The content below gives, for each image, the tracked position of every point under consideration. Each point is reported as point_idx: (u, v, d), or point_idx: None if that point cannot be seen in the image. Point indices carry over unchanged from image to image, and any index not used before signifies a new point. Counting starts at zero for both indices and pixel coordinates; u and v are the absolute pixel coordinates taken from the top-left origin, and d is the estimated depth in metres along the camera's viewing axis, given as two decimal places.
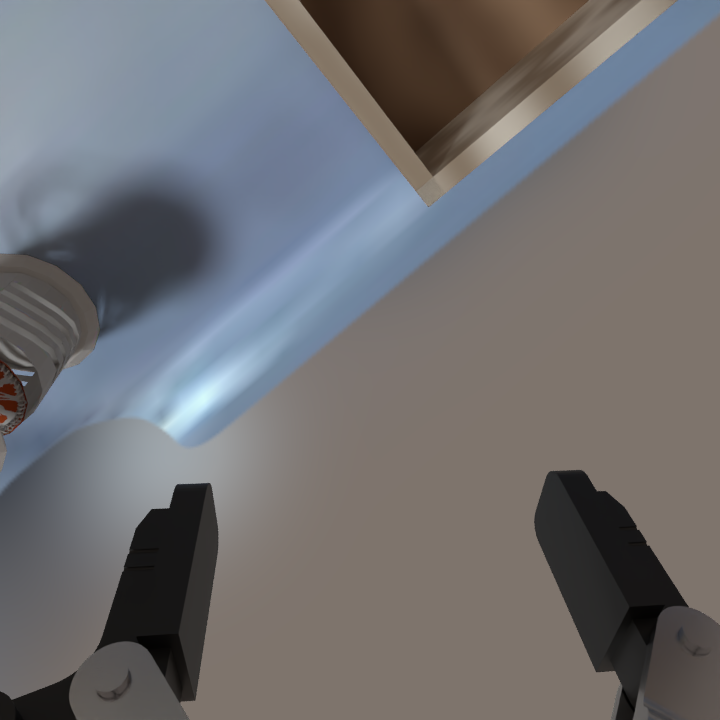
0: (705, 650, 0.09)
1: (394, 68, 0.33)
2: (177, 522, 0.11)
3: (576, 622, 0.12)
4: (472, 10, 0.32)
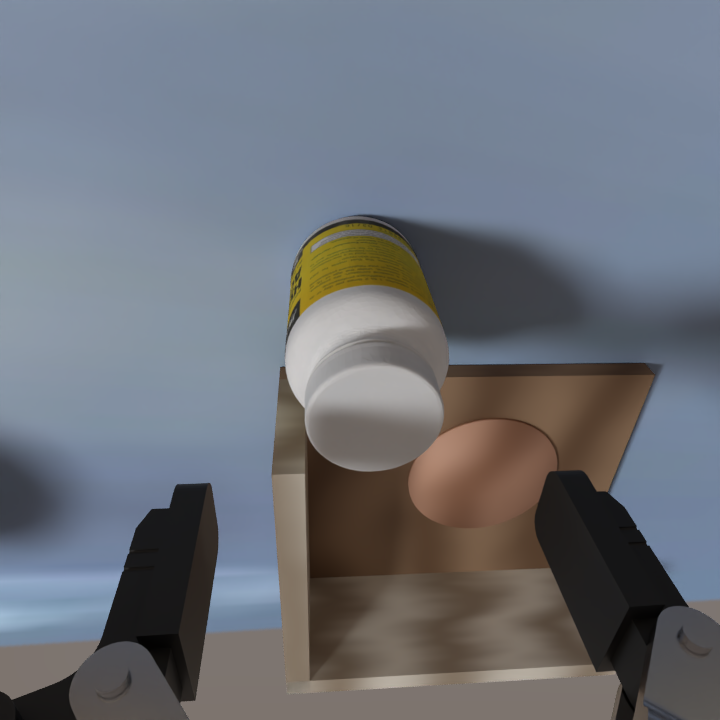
0: (705, 650, 0.09)
1: (345, 525, 0.31)
2: (177, 522, 0.11)
3: (576, 622, 0.12)
4: (436, 529, 0.32)
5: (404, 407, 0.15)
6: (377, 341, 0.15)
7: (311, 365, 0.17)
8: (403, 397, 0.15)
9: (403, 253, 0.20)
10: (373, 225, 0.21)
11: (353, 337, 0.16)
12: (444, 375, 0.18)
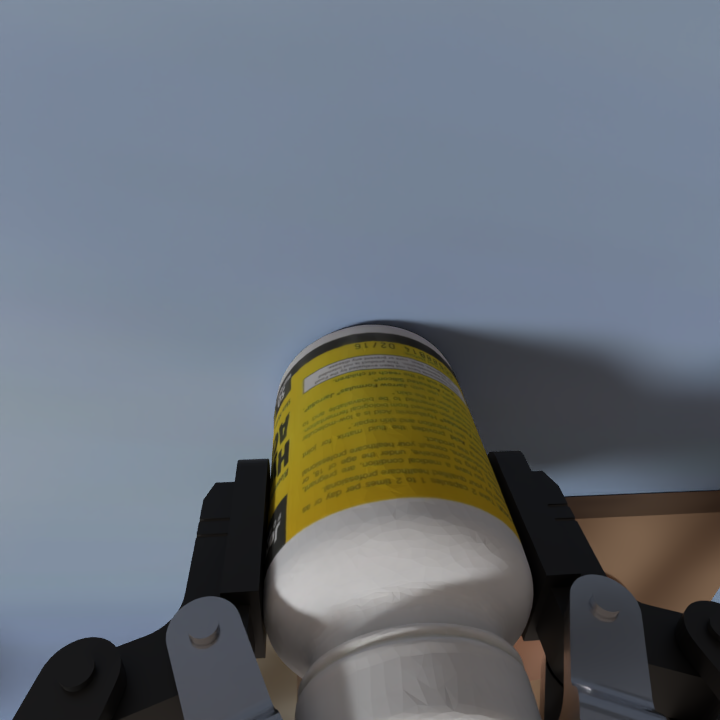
0: (612, 614, 0.09)
1: None
2: (244, 493, 0.12)
3: None
4: None
5: None
6: (428, 635, 0.08)
7: (306, 637, 0.10)
8: None
9: (445, 396, 0.13)
10: (396, 343, 0.14)
11: (381, 607, 0.09)
12: None
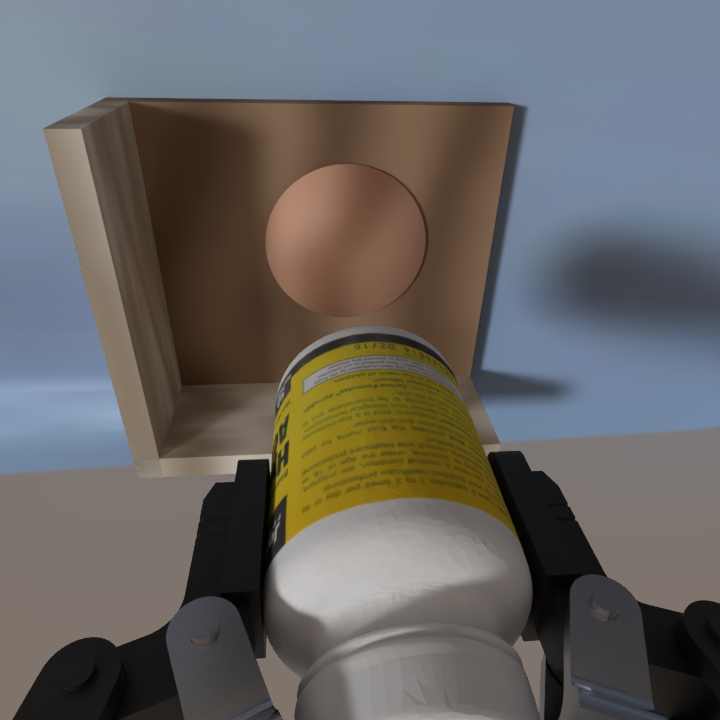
0: (611, 614, 0.09)
1: (207, 312, 0.29)
2: (244, 493, 0.12)
3: None
4: (308, 320, 0.30)
5: None
6: (427, 636, 0.08)
7: (305, 638, 0.10)
8: None
9: (445, 396, 0.13)
10: (396, 344, 0.14)
11: (381, 607, 0.09)
12: None
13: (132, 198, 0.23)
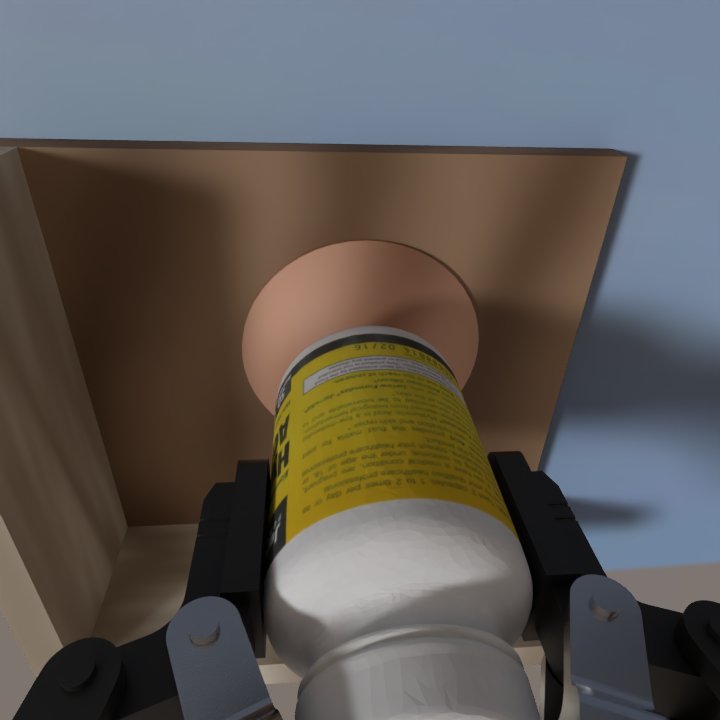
0: (612, 614, 0.09)
1: (160, 438, 0.20)
2: (244, 493, 0.12)
3: None
4: None
5: None
6: (428, 636, 0.08)
7: (305, 638, 0.10)
8: None
9: (445, 397, 0.13)
10: (396, 344, 0.14)
11: (381, 608, 0.09)
12: (525, 625, 0.11)
13: (23, 302, 0.15)
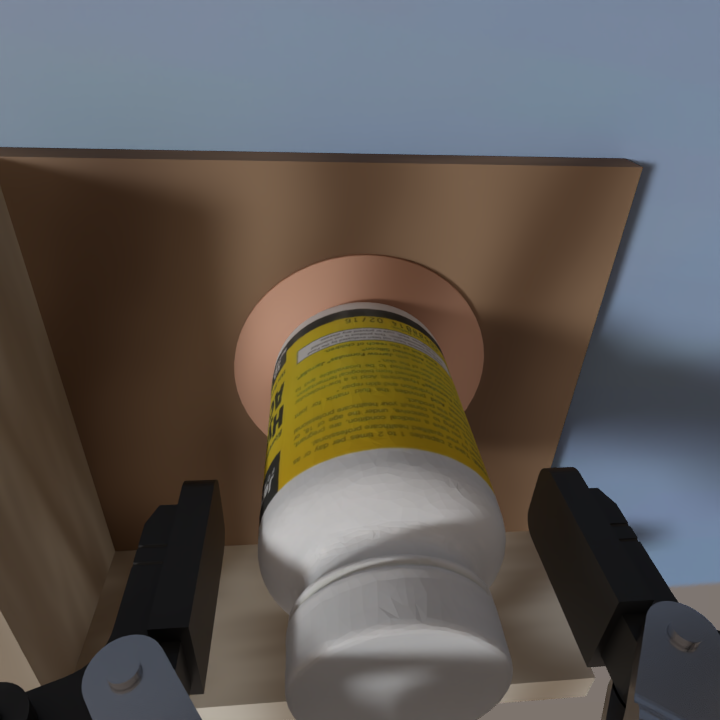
0: (693, 644, 0.09)
1: (148, 460, 0.19)
2: (185, 518, 0.11)
3: (568, 618, 0.12)
4: None
5: (449, 674, 0.09)
6: (403, 564, 0.09)
7: (296, 574, 0.11)
8: (448, 663, 0.09)
9: (429, 365, 0.14)
10: (384, 318, 0.15)
11: (363, 543, 0.10)
12: (499, 569, 0.12)
13: None
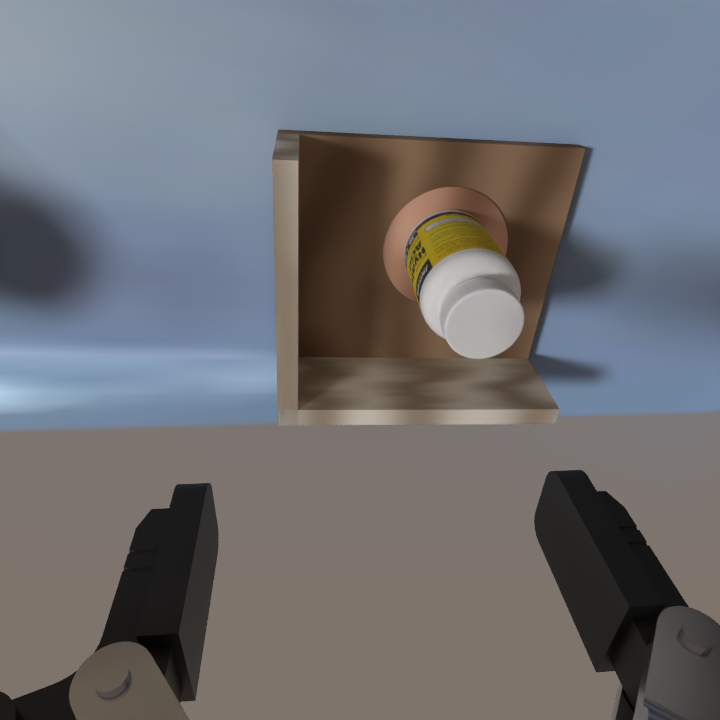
0: (705, 650, 0.09)
1: (329, 297, 0.36)
2: (177, 522, 0.11)
3: (576, 621, 0.12)
4: (406, 307, 0.37)
5: (502, 316, 0.27)
6: (487, 278, 0.27)
7: (441, 296, 0.28)
8: (502, 309, 0.26)
9: (486, 232, 0.31)
10: (464, 215, 0.32)
11: (470, 277, 0.27)
12: None
13: None
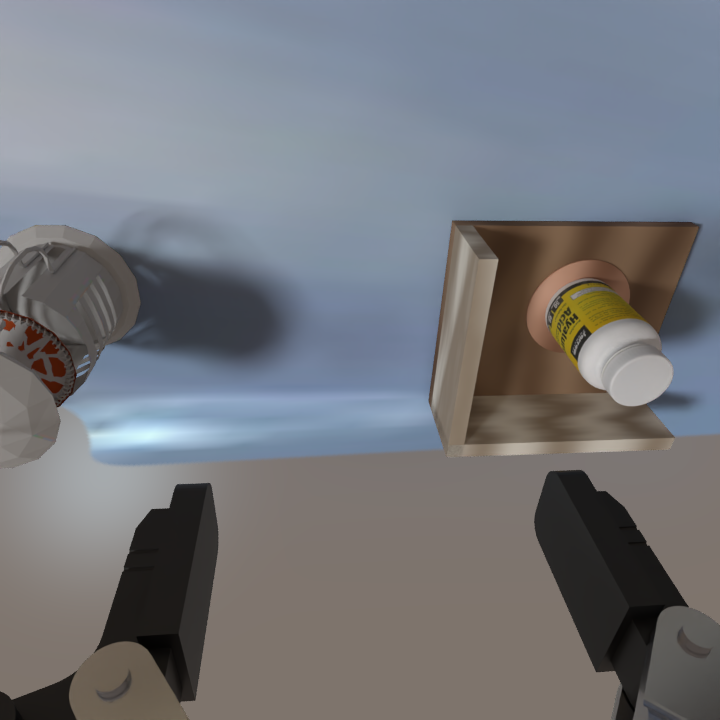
0: (705, 650, 0.09)
1: None
2: (177, 522, 0.11)
3: (576, 622, 0.12)
4: (540, 354, 0.45)
5: (656, 374, 0.34)
6: (643, 344, 0.34)
7: (601, 357, 0.35)
8: (657, 369, 0.34)
9: (623, 299, 0.39)
10: (600, 284, 0.40)
11: (626, 343, 0.35)
12: None
13: None
